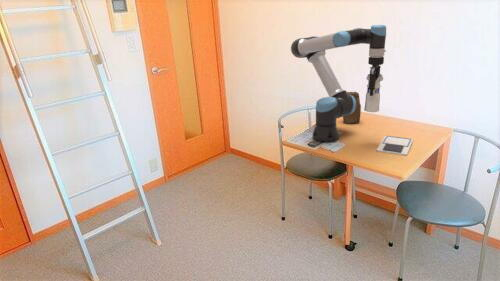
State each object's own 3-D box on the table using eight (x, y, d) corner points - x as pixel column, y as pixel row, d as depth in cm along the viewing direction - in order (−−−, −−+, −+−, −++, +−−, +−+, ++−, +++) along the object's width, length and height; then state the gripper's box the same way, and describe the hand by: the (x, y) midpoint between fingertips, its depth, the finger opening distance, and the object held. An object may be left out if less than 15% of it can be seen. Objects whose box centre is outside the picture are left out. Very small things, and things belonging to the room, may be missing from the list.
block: (342, 123, 233) (344, 93, 226) (342, 120, 240) (343, 91, 233) (360, 124, 231) (362, 93, 224) (359, 120, 238) (361, 91, 230)
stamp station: (376, 151, 191) (376, 148, 190) (385, 137, 208) (385, 134, 208) (406, 155, 183) (407, 153, 183) (412, 140, 201) (413, 138, 201)
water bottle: (381, 112, 191) (385, 65, 182) (364, 112, 193) (368, 65, 184) (379, 108, 199) (383, 62, 190) (363, 108, 200) (366, 62, 191)
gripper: (379, 59, 175) (376, 105, 184) (387, 53, 191) (384, 95, 200) (364, 59, 179) (361, 103, 187) (373, 53, 195) (370, 94, 203)
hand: (373, 99), depth 193 cm, fingers closed on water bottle, 7 cm apart
